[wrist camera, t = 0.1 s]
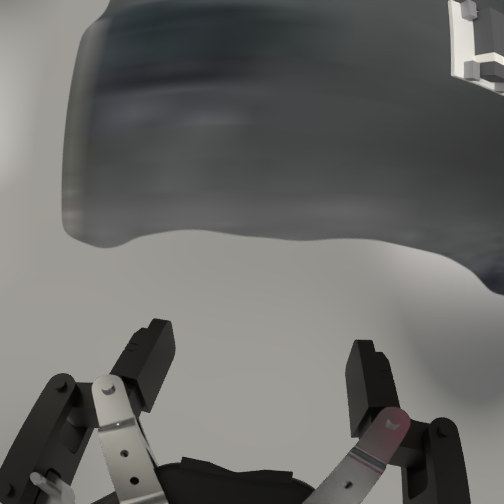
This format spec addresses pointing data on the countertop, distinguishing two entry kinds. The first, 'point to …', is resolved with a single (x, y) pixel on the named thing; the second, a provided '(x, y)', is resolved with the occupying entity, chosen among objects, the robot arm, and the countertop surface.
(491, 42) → the charcoal rectangular prism
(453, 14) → the white pegged board
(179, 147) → the countertop surface
